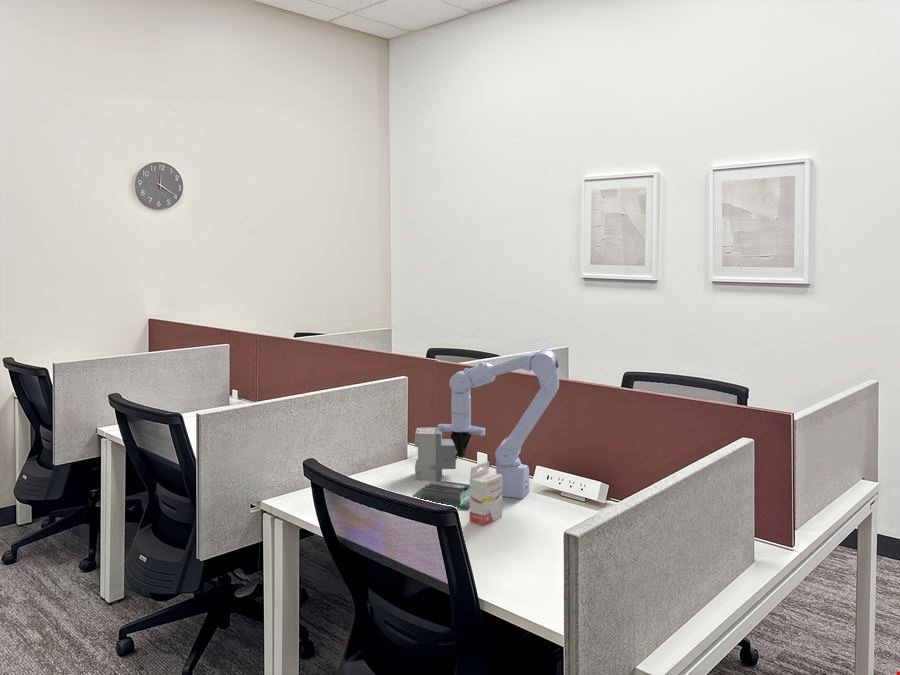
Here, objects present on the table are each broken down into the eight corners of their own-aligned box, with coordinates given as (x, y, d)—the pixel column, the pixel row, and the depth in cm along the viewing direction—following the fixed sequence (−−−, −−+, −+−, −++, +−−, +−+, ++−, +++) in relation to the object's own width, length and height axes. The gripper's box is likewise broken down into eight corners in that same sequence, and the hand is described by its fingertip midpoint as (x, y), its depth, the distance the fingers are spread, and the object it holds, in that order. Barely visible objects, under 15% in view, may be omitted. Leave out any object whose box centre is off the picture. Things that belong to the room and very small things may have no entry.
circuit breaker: (461, 480, 218) (460, 433, 216) (415, 480, 218) (414, 433, 216) (461, 473, 225) (461, 427, 223) (416, 473, 225) (416, 427, 223)
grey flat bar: (466, 488, 201) (466, 485, 201) (462, 491, 198) (462, 488, 198) (432, 482, 205) (432, 480, 205) (428, 485, 202) (428, 482, 202)
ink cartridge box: (484, 526, 181) (484, 471, 179) (468, 522, 184) (468, 467, 182) (503, 516, 188) (503, 463, 186) (488, 512, 191) (488, 460, 189)
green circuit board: (483, 494, 205) (483, 481, 204) (467, 510, 193) (467, 496, 192) (427, 487, 211) (427, 474, 211) (408, 501, 200) (408, 487, 199)
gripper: (433, 412, 206) (433, 457, 208) (479, 417, 201) (479, 463, 202) (442, 407, 213) (442, 451, 214) (487, 411, 207) (487, 456, 209)
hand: (461, 456), depth 209 cm, fingers closed
